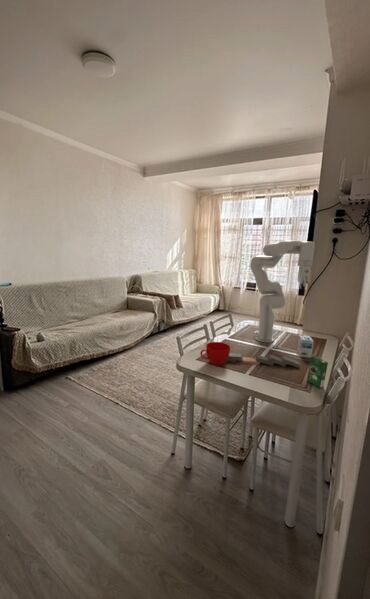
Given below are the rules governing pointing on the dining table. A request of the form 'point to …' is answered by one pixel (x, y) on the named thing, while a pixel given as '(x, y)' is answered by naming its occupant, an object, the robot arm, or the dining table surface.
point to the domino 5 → (290, 361)
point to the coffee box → (317, 371)
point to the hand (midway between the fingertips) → (301, 295)
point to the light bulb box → (305, 346)
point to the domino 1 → (234, 356)
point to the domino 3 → (263, 360)
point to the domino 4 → (276, 360)
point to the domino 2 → (250, 360)
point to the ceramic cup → (217, 353)
